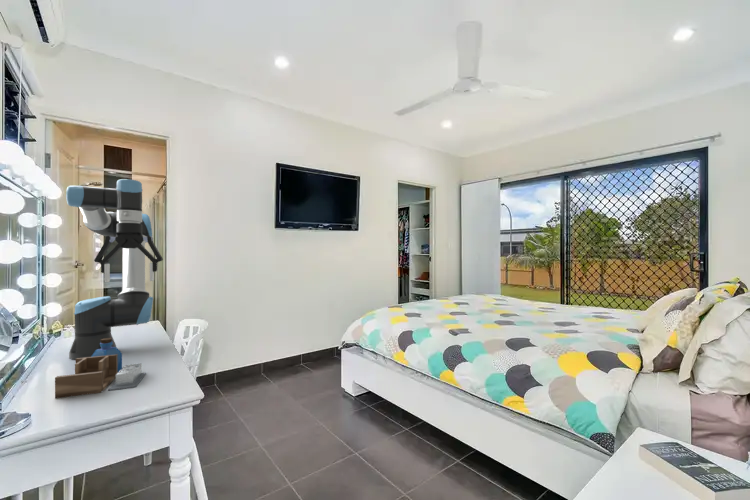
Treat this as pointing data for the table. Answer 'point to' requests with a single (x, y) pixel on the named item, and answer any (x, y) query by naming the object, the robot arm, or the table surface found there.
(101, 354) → the perfume bottle
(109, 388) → the slate pad
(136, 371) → the bar
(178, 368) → the table surface
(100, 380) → the pocket jig
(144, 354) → the table surface
